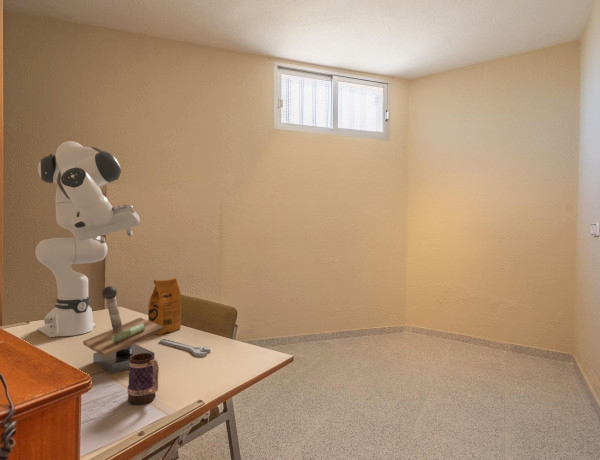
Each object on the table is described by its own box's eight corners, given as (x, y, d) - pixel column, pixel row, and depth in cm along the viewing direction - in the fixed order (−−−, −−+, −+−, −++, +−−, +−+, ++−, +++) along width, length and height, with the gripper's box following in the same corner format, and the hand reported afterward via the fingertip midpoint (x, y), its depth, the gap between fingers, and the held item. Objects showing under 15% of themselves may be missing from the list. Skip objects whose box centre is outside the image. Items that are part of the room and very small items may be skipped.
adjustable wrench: (158, 343, 152) (158, 339, 152) (172, 339, 157) (172, 335, 157) (200, 358, 137) (200, 353, 137) (214, 353, 143) (214, 348, 142)
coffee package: (144, 331, 166) (144, 279, 165) (170, 324, 176) (170, 275, 175) (157, 336, 160) (158, 282, 159) (184, 329, 170) (184, 278, 169)
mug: (122, 399, 106) (122, 355, 105) (147, 390, 111) (147, 348, 111) (142, 412, 100) (142, 365, 99) (167, 402, 105) (167, 358, 105)
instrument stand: (93, 362, 131) (93, 340, 131) (134, 351, 142) (134, 330, 142) (112, 374, 122) (112, 350, 122) (154, 361, 133) (154, 339, 132)
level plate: (83, 344, 130) (71, 295, 126) (140, 320, 144) (131, 275, 141) (104, 357, 119) (92, 303, 116) (164, 329, 134) (154, 281, 130)
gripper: (130, 196, 131) (146, 223, 142) (67, 213, 128) (88, 239, 139) (130, 209, 127) (147, 236, 138) (65, 227, 124) (87, 253, 135)
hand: (117, 238), depth 138 cm, fingers open, 8 cm apart
